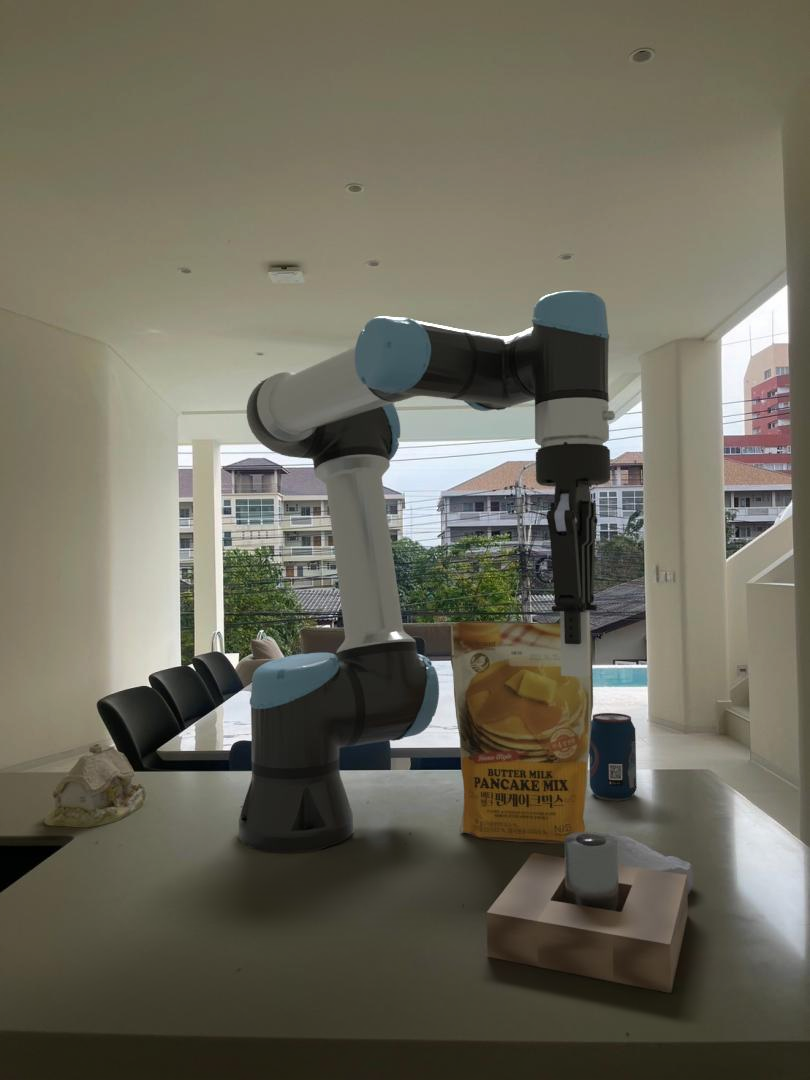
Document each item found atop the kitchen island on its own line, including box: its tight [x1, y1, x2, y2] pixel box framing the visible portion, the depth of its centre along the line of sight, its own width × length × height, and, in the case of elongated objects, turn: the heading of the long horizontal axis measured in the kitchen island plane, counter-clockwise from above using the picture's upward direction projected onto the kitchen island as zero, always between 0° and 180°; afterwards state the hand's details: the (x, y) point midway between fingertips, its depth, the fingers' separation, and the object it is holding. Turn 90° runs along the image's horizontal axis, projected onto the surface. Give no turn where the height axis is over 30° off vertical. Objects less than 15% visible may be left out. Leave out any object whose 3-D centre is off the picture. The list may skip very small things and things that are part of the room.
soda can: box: [588, 712, 638, 802], centre depth 123 cm, size 7×7×12 cm
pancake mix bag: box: [447, 620, 594, 845], centre depth 106 cm, size 7×19×28 cm, turn 78°
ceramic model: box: [44, 743, 147, 828], centre depth 117 cm, size 14×11×10 cm
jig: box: [486, 852, 689, 994], centre depth 77 cm, size 16×16×4 cm
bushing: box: [564, 831, 619, 912], centre depth 77 cm, size 5×5×9 cm
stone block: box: [605, 833, 695, 895], centre depth 90 cm, size 12×5×10 cm
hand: (576, 675), depth 82 cm, fingers closed
